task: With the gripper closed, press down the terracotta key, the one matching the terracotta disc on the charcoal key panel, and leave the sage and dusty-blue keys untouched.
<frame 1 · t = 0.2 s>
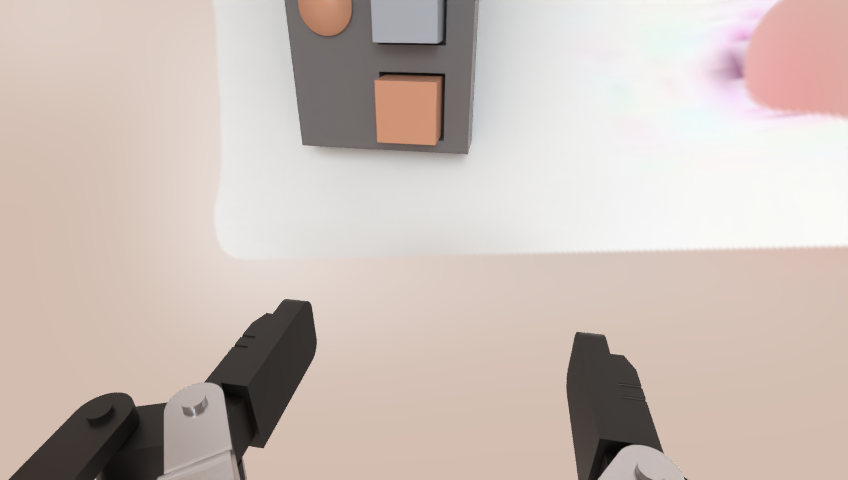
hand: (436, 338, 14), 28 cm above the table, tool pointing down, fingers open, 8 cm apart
terracotta key: (409, 109, 34), point 4 cm above the table, slide at 0.0 cm
key panel: (389, 5, 35), on the table
blue key: (408, 5, 31), point 4 cm above the table, slide at 0.0 cm
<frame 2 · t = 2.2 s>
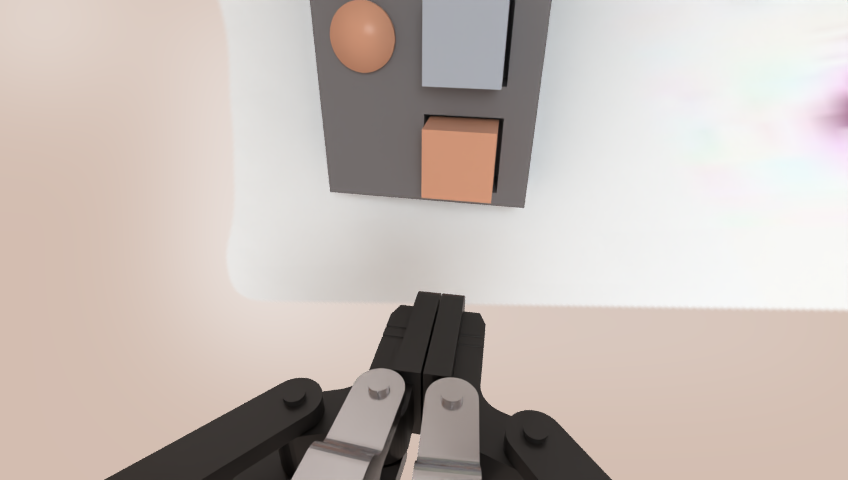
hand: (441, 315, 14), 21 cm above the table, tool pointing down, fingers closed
terracotta key: (460, 158, 29), point 4 cm above the table, slide at 0.0 cm
key panel: (434, 32, 30), on the table
blue key: (466, 41, 26), point 4 cm above the table, slide at 0.0 cm
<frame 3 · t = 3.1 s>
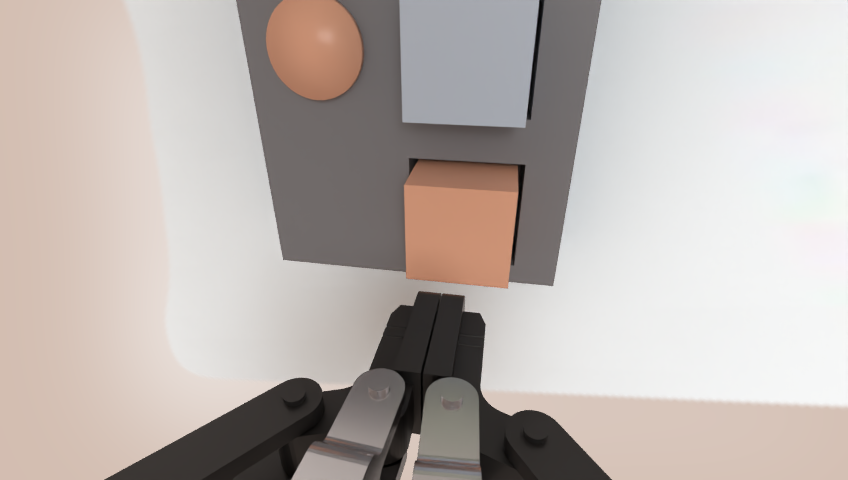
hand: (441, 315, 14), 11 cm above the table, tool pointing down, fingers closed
terracotta key: (461, 221, 20), point 4 cm above the table, slide at 0.0 cm
key panel: (423, 41, 21), on the table
blue key: (469, 53, 17), point 4 cm above the table, slide at 0.0 cm
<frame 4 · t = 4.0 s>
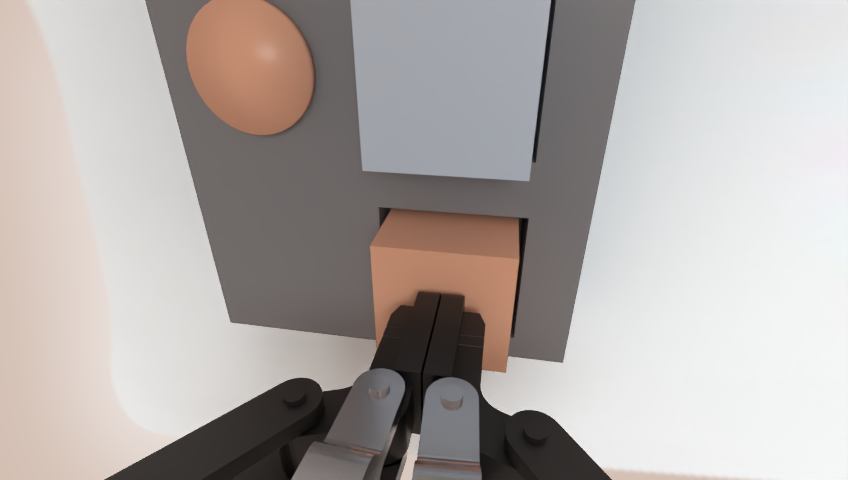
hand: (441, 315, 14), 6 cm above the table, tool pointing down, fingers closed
terracotta key: (447, 284, 16), point 4 cm above the table, slide at 0.2 cm, touching gripper
key panel: (399, 56, 16), on the table
blue key: (453, 77, 12), point 4 cm above the table, slide at 0.0 cm
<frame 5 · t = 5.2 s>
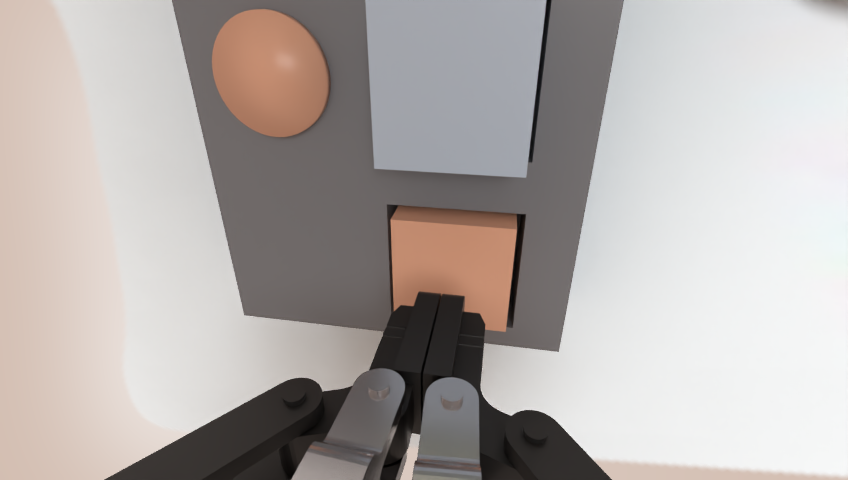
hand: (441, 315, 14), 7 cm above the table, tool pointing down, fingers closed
terracotta key: (455, 257, 18), point 3 cm above the table, slide at 1.7 cm
key panel: (406, 65, 18), on the table
blue key: (456, 84, 13), point 4 cm above the table, slide at 0.0 cm
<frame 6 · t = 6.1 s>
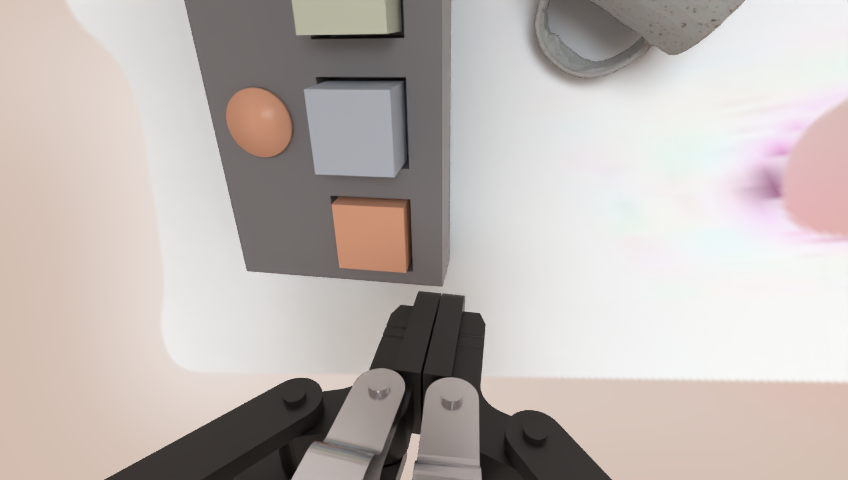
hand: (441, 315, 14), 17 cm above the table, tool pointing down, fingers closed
terracotta key: (376, 228, 29), point 3 cm above the table, slide at 1.7 cm
key panel: (342, 111, 29), on the table
blue key: (359, 127, 25), point 4 cm above the table, slide at 0.0 cm
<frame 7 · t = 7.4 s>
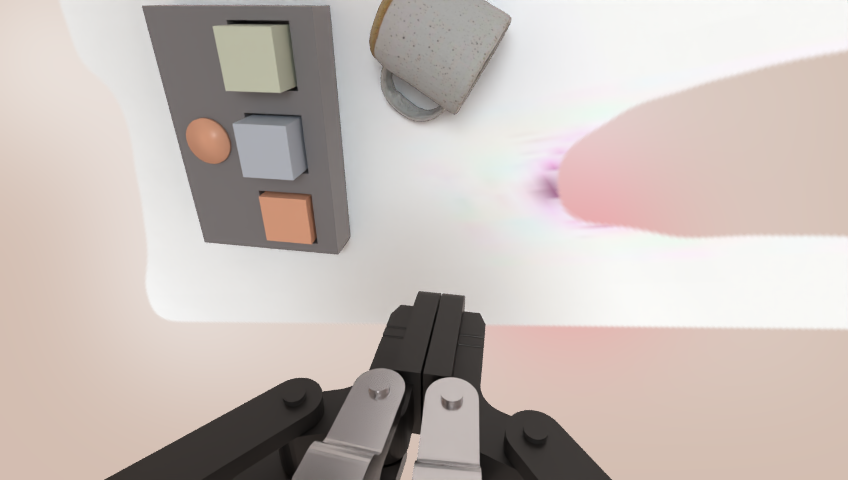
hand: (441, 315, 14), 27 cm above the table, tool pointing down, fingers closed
terracotta key: (293, 213, 43), point 3 cm above the table, slide at 1.7 cm
key panel: (269, 131, 42), on the table
sage key: (258, 57, 34), point 4 cm above the table, slide at 0.0 cm
ceramic mug: (440, 53, 36), on the table
blue key: (272, 146, 38), point 4 cm above the table, slide at 0.0 cm
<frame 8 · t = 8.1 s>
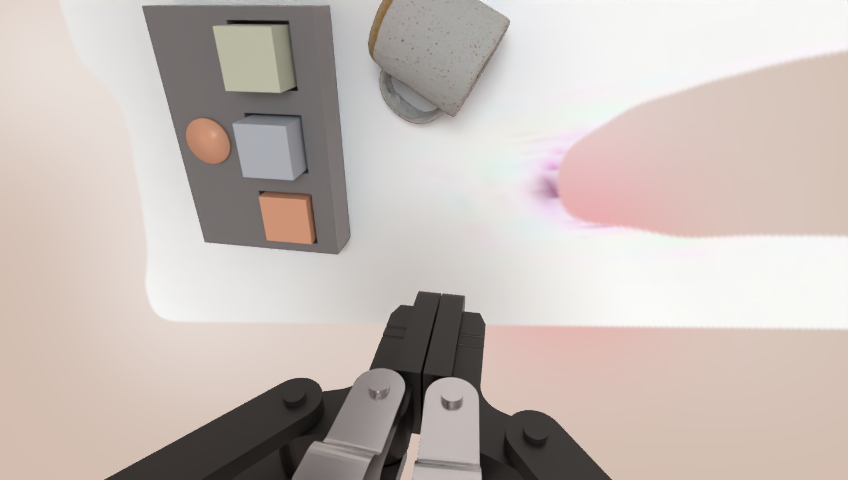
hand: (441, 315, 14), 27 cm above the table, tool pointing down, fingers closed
terracotta key: (293, 213, 43), point 3 cm above the table, slide at 1.7 cm
key panel: (269, 131, 42), on the table
sage key: (258, 57, 34), point 4 cm above the table, slide at 0.0 cm
ceramic mug: (438, 55, 36), on the table
blue key: (272, 146, 38), point 4 cm above the table, slide at 0.0 cm
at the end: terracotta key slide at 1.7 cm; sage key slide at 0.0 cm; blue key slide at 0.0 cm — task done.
